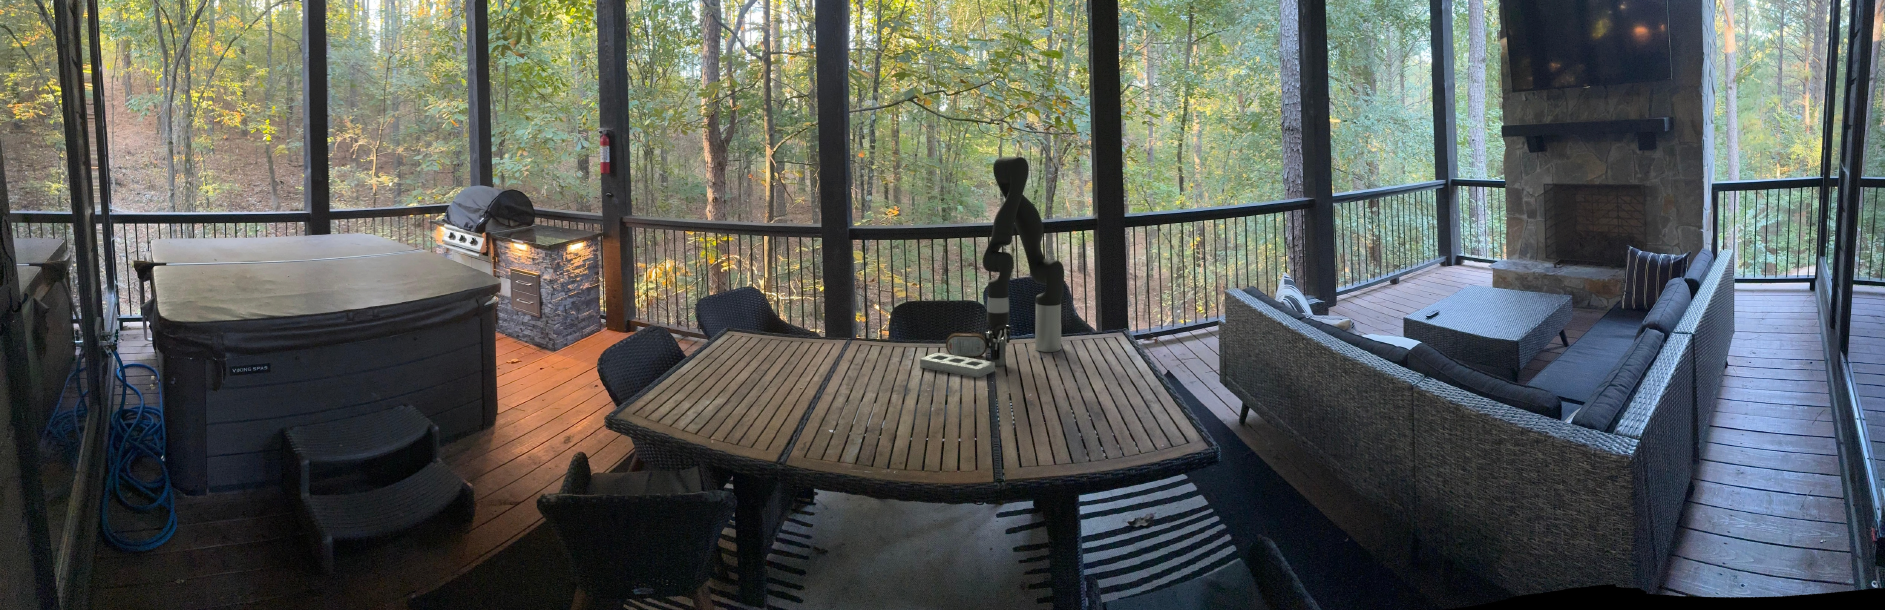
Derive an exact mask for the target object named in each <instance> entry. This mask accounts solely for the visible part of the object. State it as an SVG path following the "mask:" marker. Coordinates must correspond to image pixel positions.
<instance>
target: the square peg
mask: <svg viewBox="0 0 1885 610" xmlns="http://www.w3.org/2000/svg"><path fill="white" fill-rule="evenodd" d="M993 340H996V339H993ZM994 346H995V343H994ZM990 362H995V367H998V368H1002V367H1003V366H1006V356H1005V339H1000V342H999V343H998V346H997V360H991V359H990Z"/></svg>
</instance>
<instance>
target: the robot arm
mask: <svg viewBox="0 0 1885 610" xmlns="http://www.w3.org/2000/svg"><path fill="white" fill-rule="evenodd" d="M992 170H993V176H994V179H995V182H996V184H997V186H998V188H999V190H1000V192H1001V194H1002V195H1003V196H1002V197H1003V198H1004V201H1003V203H1002V205H1001V206H1000V208H999V209H998V211H997V212H996V215H995V217H994V219H993V225H992V230H991V231H992V232H991V237H990V239H989V241H988V244H987V247H986V248H985V251H984V253H983V256H982V267H983V269H984V270H985V271H987V272H989V273H998V277H997V278H993V279H989V281H988V282H987V302H986V303H987V304H986V322H987V324H989V325H990V326H989V330H988V332H987V331H985V332H984V337H985V341H986V347H987V349H989V350H990V361H991V360H997V346H998V343H999V342H1000V339H1005V357H1006V353H1007V352H1006V350H1007V349H1006V346H1007V345H1008V344H1010V342H1011V341H1010V340H1011V333H1012V326H1011V325H1007V324H1009V323H1010V300H1009V284H1010V281H1011V277H1012V272H1013V269H1014V264H1015V260H1014V258H1013V255H1012V254H1011V253H1009V252H1006V251H1000V250H1001V248H1002V247H1007V246H1009V245H1011V244H1012V241H1013V234H1014V229H1016V231H1017V233H1018V236H1019V238H1020V241H1021V244H1022V247H1023V250H1024V253H1025V256H1026V260H1027V264H1028V269H1029V273H1030V276H1031V278H1032V280H1033V281H1034V282H1035V283H1037V284H1040V285H1045V289H1044V291H1043V292H1042V293H1039V294H1037V295H1036V296H1035V334H1034V335H1035V338H1034V339H1035V340H1034V341H1035V342H1034V343H1035V346H1034V347H1035V348H1034V349H1035V350H1036V351H1037V352H1042V353H1043V352H1045V353H1056V352H1059V351H1061V348H1062V299H1063V294H1064V286H1065V285H1064V283H1065V268H1064V265H1063V263H1062V262H1061V261H1059V260H1056V259H1055V260H1054V259H1047V258H1045V255H1044V253H1043V250H1042V246H1041V244H1042V238H1043V234H1044V224H1043V220H1042V218H1041V215H1040V212H1039V210H1038V209H1037V207H1036V206H1035V205H1034V203H1032V202H1031V201H1030V200H1029V199H1028V198H1027V197H1026V196H1025V195H1024V191H1025V188H1026V185H1027V181H1028V178H1029V171H1030V168H1029V163H1028V161H1027V159H1026V158H1024V157H1023V156H1003V157H1002V156H1001V157H999V158H997V159H995V160H994V162H993V167H992ZM993 339H996V340H993ZM994 343H995V346H994Z"/></svg>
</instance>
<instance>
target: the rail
mask: <svg viewBox="0 0 1885 610" xmlns="http://www.w3.org/2000/svg"><path fill="white" fill-rule="evenodd" d="M919 367H920V368H922V369H926V370H927V369H929V370H931V371H932V370H933V371H937V372H944V373H950V374H955V375H961V376H966V377H971V378H976V379H977V378H978V379H979V378H982V377H984V376H986V375H989V374H991V373H993V372H995V369H996V366H995V362H991V360H989V361H988V360H984V359H976V358H973V357H960V356H954V355H951V354H949V353H940V352H935V353H932V354H930V355H926V356H924V357H920V358H919Z"/></svg>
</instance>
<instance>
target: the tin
mask: <svg viewBox="0 0 1885 610" xmlns="http://www.w3.org/2000/svg"><path fill="white" fill-rule="evenodd" d="M945 348H946V352H947V354H948V355H954V356H960V357H966V358H979V357H982V356H983V355H985V353H986V352H987V350H988V348H987V347H986V341H985V335H983V334H980V333H975V332H974V333H972V332H970V333H969V332H965V333H964V332H954V333H951V334H950V335H948V337H947V338H946V341H945Z"/></svg>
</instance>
